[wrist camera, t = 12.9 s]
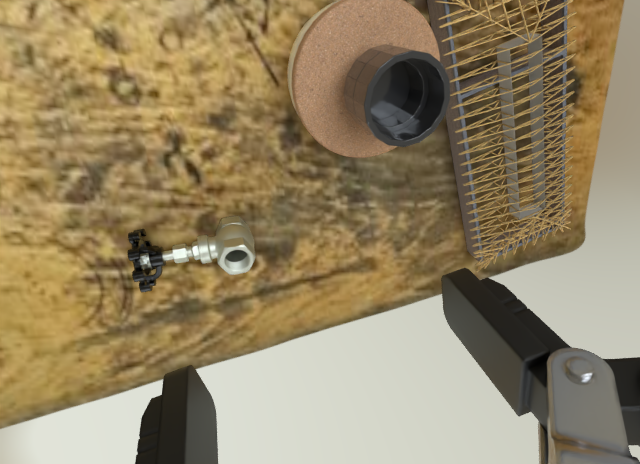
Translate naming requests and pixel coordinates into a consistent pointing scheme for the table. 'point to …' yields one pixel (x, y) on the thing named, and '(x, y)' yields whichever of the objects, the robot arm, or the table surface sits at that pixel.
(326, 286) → the table surface
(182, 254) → the valve
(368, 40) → the lidded bowl
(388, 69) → the dark gray metal cup
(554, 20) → the rafter model
